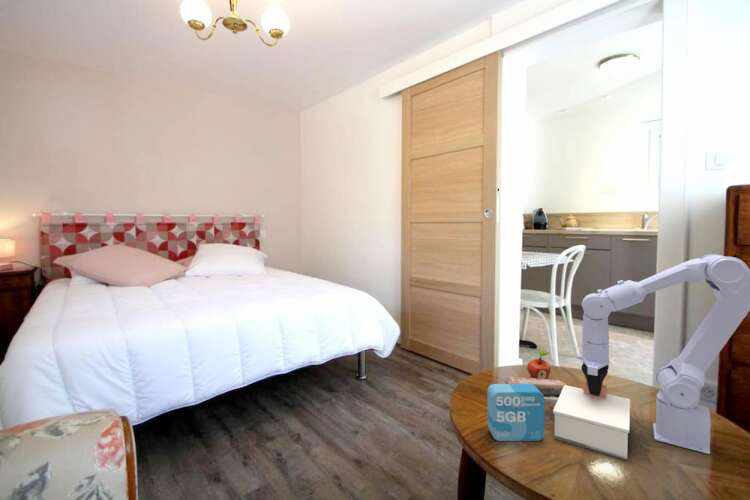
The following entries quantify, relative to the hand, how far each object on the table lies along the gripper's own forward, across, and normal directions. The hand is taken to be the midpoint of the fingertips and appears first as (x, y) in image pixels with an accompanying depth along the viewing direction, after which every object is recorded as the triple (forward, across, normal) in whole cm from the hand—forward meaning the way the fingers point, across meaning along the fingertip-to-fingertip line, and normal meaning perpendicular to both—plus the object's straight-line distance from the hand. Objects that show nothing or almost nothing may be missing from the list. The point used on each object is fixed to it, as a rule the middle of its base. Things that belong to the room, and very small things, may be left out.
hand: (594, 393), depth 90 cm
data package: (+8, +18, -15) cm, 25 cm away
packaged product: (+8, -8, -15) cm, 19 cm away
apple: (+8, -18, -17) cm, 26 cm away
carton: (+7, +6, 0) cm, 10 cm away
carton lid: (+1, +6, 0) cm, 6 cm away
